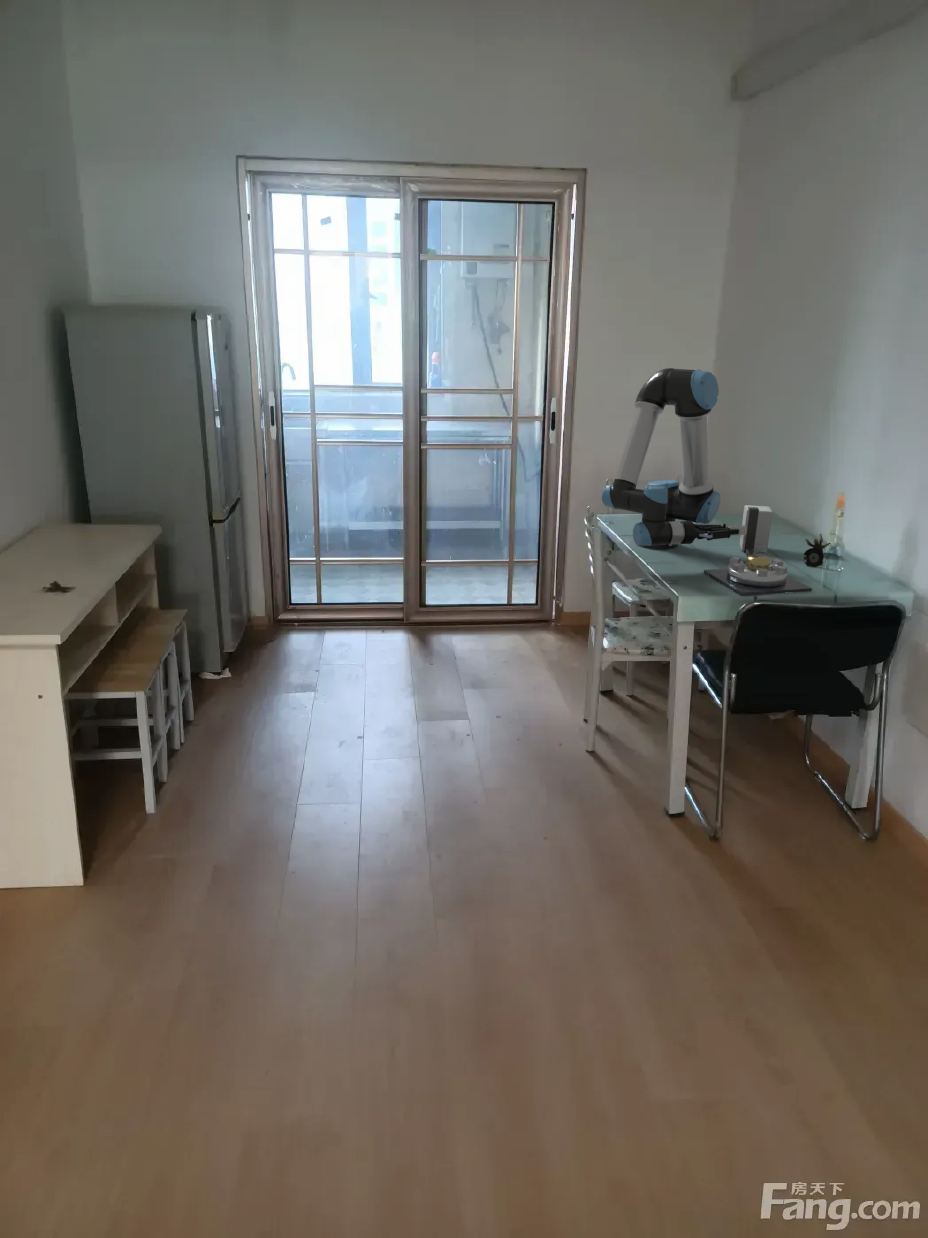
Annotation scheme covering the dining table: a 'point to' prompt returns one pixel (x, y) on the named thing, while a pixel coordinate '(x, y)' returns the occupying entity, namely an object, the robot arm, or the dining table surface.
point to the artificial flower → (815, 553)
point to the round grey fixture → (738, 567)
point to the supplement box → (759, 528)
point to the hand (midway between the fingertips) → (745, 530)
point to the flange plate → (744, 589)
